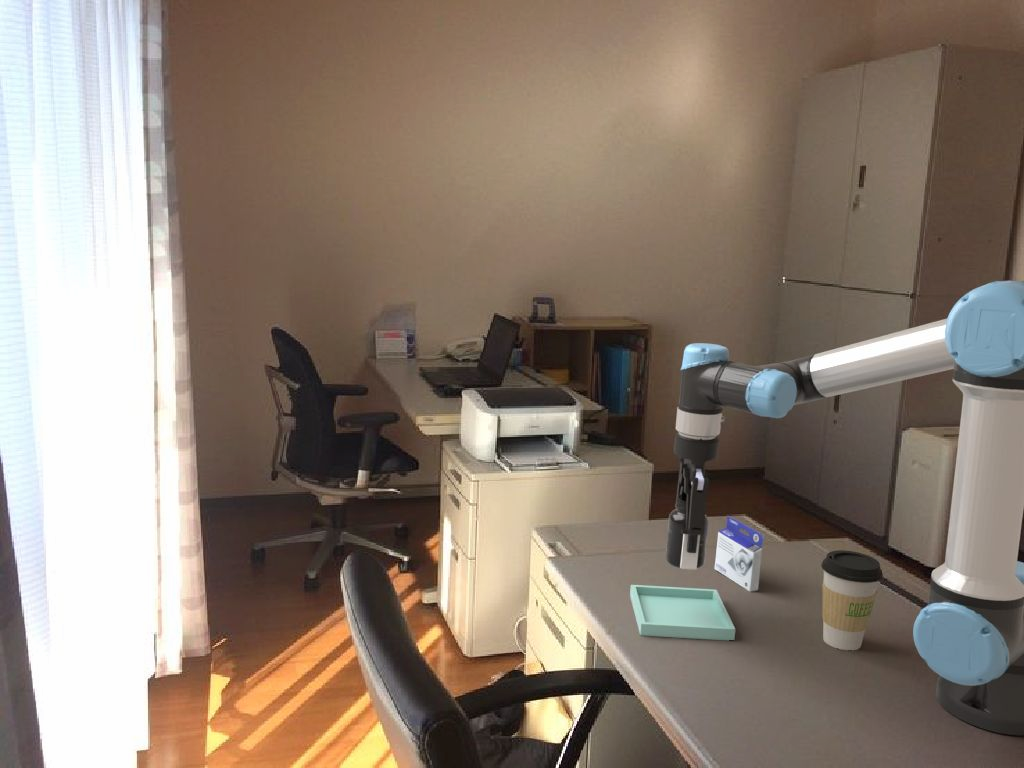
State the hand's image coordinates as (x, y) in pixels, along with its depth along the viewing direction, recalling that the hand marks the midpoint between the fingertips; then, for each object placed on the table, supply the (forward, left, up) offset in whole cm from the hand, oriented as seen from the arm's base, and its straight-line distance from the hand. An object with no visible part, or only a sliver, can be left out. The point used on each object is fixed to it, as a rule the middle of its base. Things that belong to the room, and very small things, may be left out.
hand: (684, 559), depth 161 cm
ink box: (+18, -14, -11) cm, 25 cm away
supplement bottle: (0, 0, -1) cm, 1 cm away
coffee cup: (-6, -27, -11) cm, 30 cm away
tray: (0, 0, -11) cm, 11 cm away
